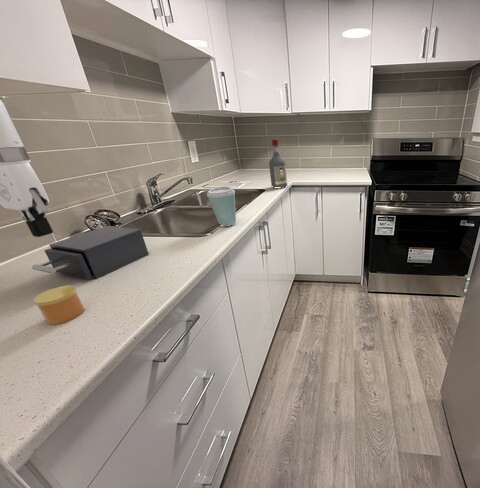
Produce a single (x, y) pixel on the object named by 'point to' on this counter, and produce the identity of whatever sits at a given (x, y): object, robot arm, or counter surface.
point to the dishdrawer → (107, 248)
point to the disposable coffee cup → (223, 204)
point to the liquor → (277, 168)
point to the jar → (59, 304)
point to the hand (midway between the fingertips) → (43, 234)
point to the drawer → (66, 263)
